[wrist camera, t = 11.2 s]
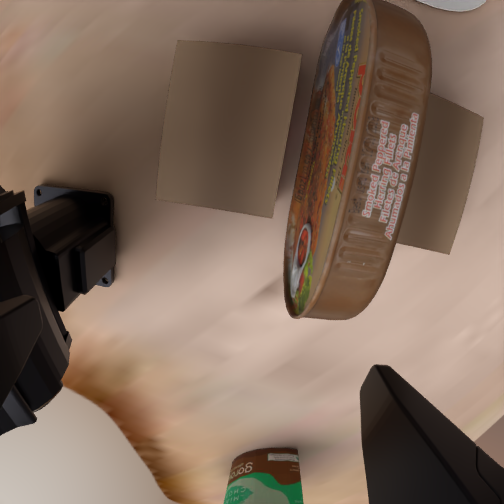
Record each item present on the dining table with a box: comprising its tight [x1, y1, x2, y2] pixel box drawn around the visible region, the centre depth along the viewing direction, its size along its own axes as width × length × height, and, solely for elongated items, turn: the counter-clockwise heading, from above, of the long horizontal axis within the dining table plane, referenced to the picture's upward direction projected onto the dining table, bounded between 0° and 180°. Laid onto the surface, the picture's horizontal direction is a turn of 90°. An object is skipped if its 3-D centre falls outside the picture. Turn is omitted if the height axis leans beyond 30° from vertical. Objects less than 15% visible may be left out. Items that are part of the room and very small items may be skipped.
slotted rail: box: [156, 40, 484, 255], centre depth 15 cm, size 16×8×3 cm, turn 81°
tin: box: [283, 0, 432, 320], centre depth 13 cm, size 15×3×8 cm, turn 170°
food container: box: [224, 448, 303, 504], centre depth 24 cm, size 12×6×10 cm, turn 158°
